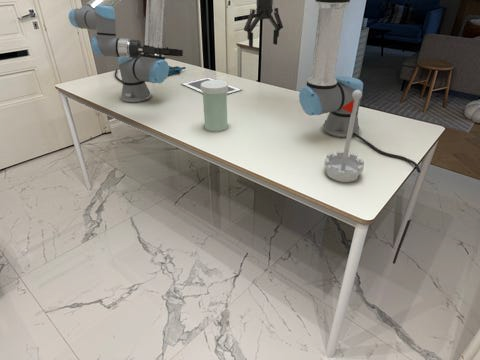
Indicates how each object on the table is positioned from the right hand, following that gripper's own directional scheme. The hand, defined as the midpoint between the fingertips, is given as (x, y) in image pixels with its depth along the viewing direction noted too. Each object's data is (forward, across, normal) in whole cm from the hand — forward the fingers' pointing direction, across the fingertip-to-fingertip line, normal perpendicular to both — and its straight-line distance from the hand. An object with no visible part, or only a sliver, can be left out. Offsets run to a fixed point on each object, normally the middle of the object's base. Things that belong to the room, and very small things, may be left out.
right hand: (263, 45), depth 167 cm
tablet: (+28, +17, -32) cm, 46 cm away
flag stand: (+28, +10, +78) cm, 84 cm away
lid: (+9, +35, +22) cm, 42 cm away
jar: (+28, +35, +22) cm, 50 cm away
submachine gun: (+28, +38, -74) cm, 87 cm away
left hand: (-2, +44, +6) cm, 44 cm away
